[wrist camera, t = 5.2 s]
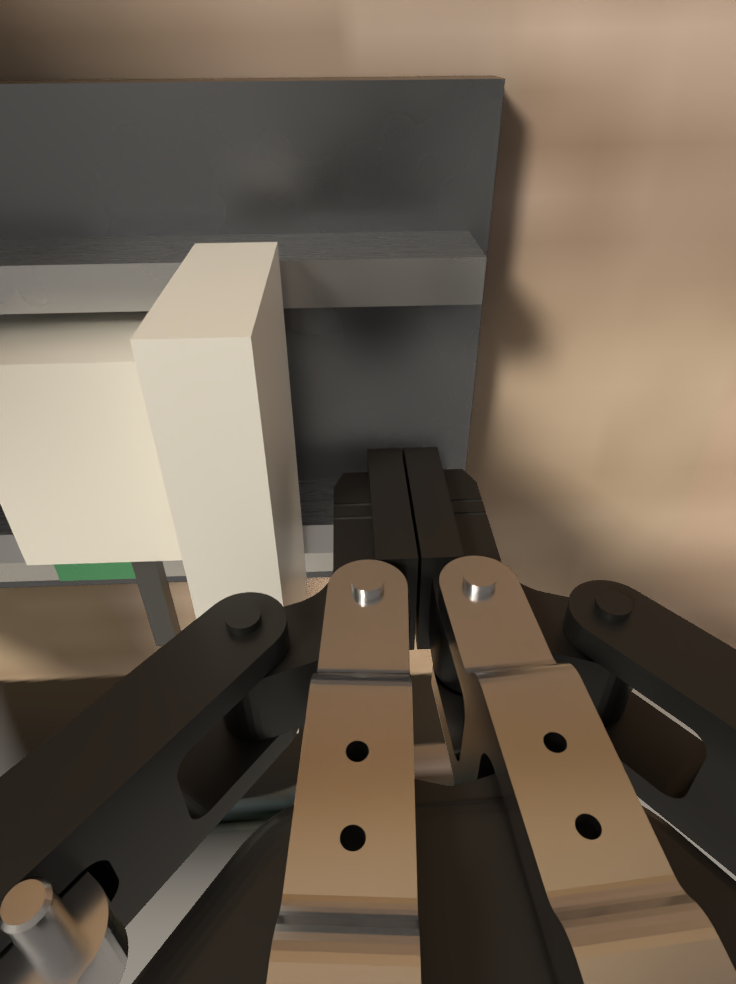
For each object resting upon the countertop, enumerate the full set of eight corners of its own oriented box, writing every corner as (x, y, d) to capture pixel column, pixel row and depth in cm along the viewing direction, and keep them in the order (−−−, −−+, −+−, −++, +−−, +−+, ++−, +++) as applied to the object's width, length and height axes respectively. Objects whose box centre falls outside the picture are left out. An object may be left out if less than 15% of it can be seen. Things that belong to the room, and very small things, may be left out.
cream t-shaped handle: (285, 213, 14) (250, 337, 8) (313, 570, 21) (304, 780, 15) (-12, 218, 14) (-258, 347, 8) (108, 577, 20) (18, 792, 15)
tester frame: (493, 75, 14) (668, 121, 7) (450, 549, 22) (507, 806, 15) (-481, 85, 14) (-1478, 146, 6) (-158, 568, 22) (-416, 847, 14)
